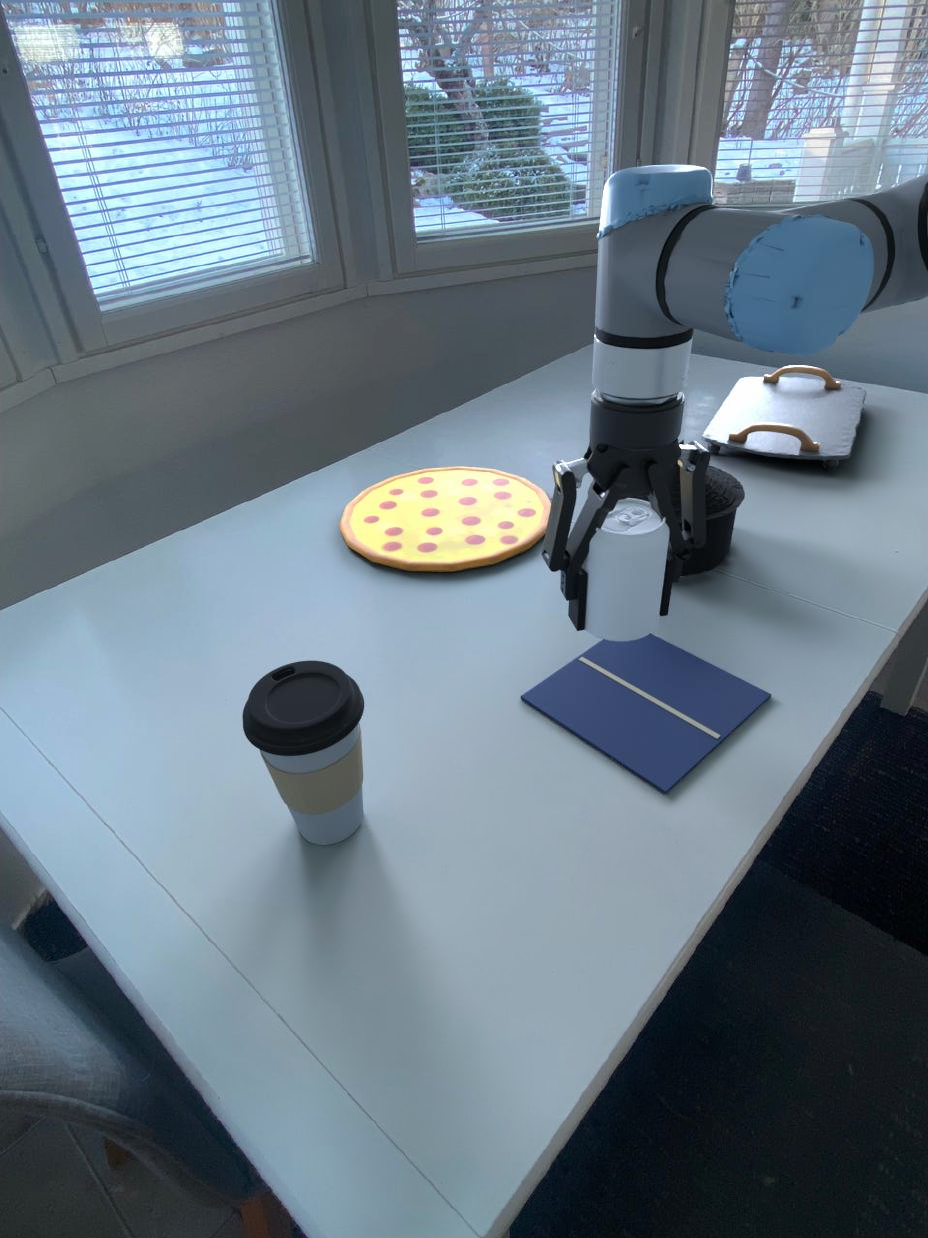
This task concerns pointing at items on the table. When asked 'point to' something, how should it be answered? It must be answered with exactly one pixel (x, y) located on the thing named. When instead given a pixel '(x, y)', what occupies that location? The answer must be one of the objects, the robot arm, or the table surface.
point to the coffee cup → (311, 745)
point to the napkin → (647, 705)
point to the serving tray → (789, 417)
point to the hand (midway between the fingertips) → (617, 615)
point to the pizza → (446, 519)
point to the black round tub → (708, 516)
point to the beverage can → (626, 572)
